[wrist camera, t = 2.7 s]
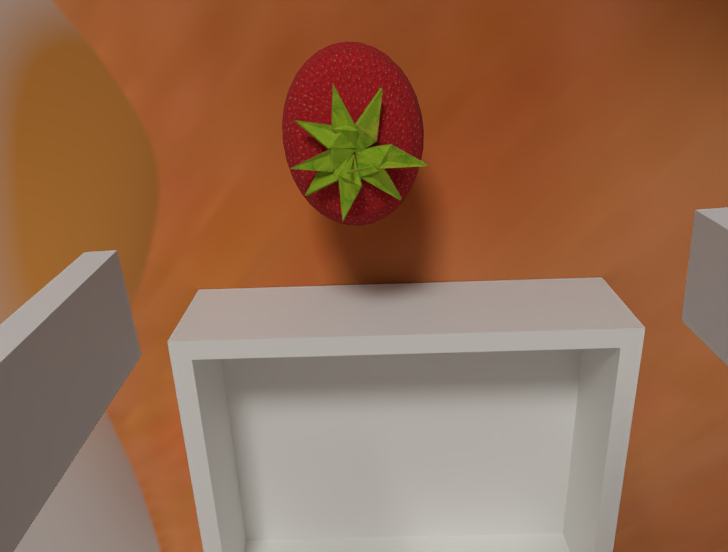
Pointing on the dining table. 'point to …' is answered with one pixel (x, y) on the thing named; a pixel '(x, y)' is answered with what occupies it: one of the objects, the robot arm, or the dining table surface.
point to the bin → (408, 415)
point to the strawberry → (352, 133)
